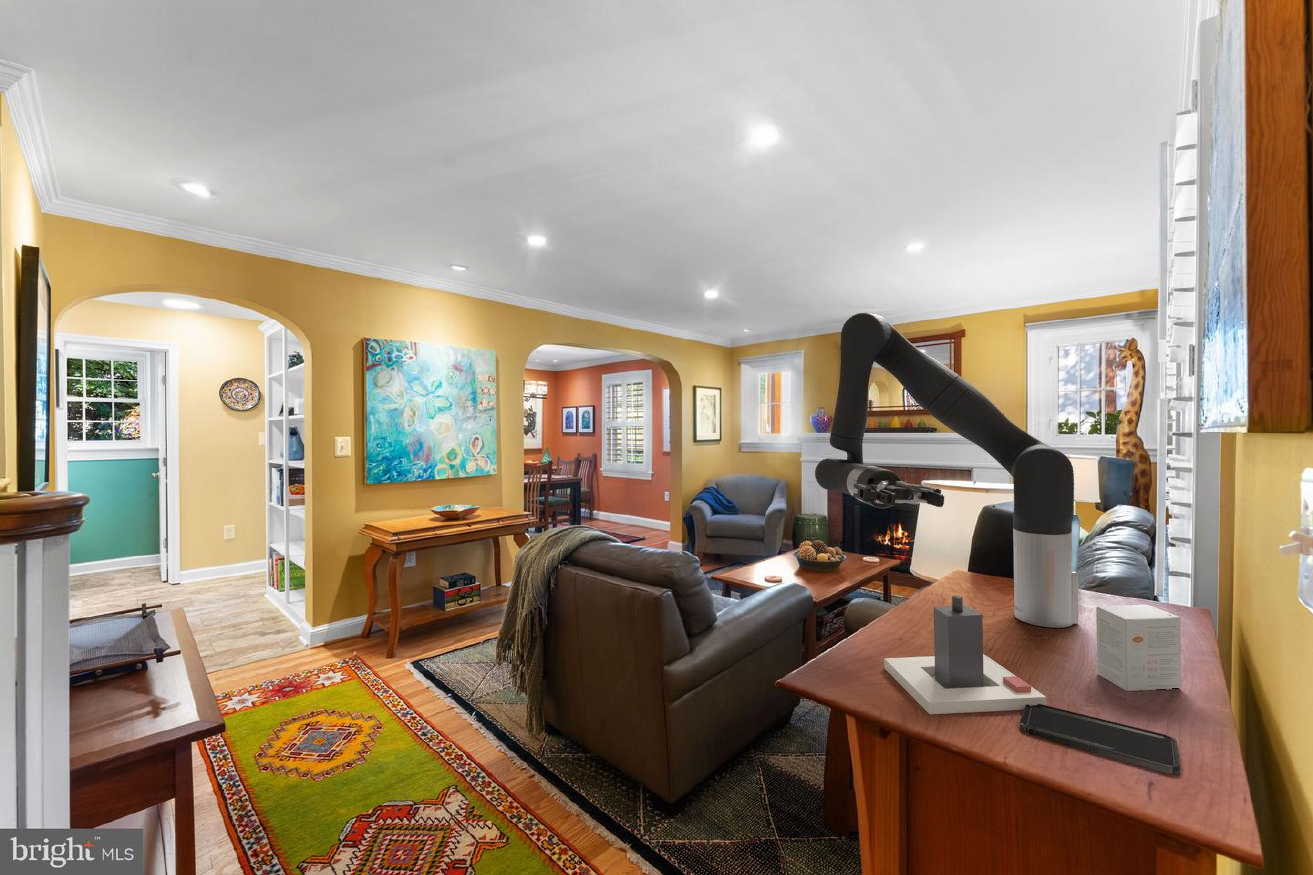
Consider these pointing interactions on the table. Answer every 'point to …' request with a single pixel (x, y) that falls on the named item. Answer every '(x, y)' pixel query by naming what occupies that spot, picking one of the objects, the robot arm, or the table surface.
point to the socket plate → (935, 699)
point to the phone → (1102, 737)
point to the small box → (1138, 647)
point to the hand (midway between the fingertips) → (917, 500)
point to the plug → (958, 646)
